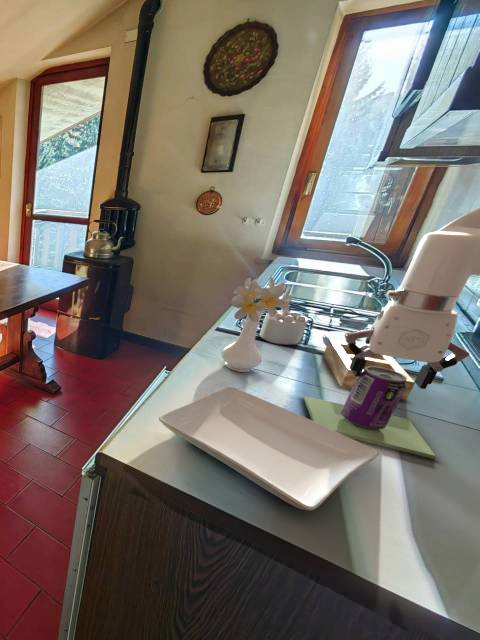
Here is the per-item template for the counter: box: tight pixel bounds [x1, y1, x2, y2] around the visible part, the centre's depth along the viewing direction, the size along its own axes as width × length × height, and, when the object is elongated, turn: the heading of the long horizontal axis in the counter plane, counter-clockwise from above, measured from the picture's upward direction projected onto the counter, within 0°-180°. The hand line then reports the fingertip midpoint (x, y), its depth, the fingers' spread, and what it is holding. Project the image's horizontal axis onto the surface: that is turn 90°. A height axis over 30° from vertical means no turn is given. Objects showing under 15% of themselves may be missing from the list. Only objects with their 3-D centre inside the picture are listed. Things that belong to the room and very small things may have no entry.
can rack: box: [323, 339, 416, 401], centre depth 104 cm, size 12×22×5 cm, turn 149°
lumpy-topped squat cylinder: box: [259, 309, 309, 345], centre depth 127 cm, size 10×13×9 cm
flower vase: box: [220, 276, 294, 373], centre depth 103 cm, size 13×18×25 cm
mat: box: [303, 395, 437, 460], centre depth 84 cm, size 18×14×1 cm
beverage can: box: [341, 366, 407, 429], centre depth 82 cm, size 7×7×12 cm
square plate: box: [158, 385, 380, 512], centre depth 76 cm, size 27×27×4 cm
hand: (386, 379), depth 80 cm, fingers open, 9 cm apart
